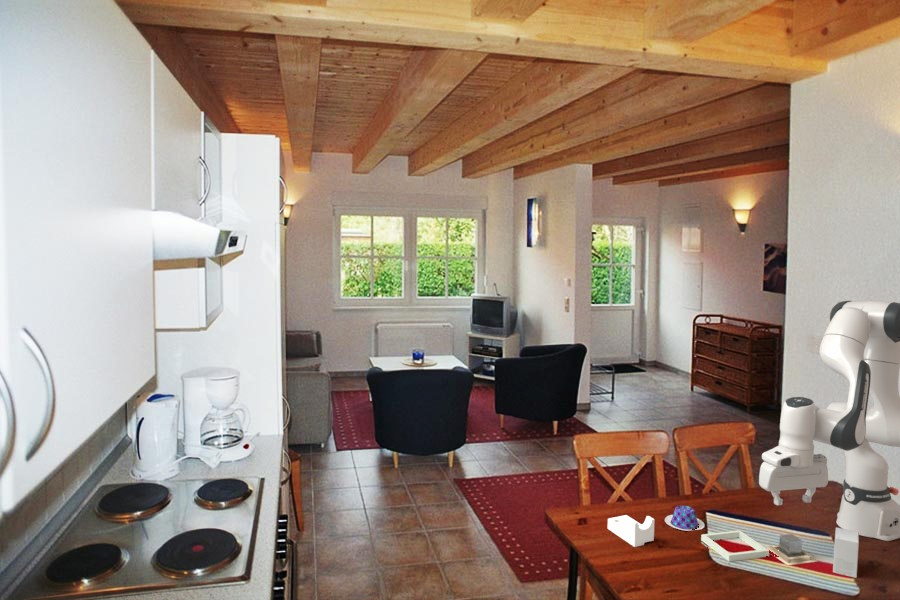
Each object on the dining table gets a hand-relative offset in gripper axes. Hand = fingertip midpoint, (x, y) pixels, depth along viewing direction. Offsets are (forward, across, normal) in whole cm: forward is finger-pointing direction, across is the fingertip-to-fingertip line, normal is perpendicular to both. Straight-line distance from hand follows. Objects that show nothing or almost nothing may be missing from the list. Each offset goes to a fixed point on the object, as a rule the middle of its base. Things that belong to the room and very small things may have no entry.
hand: (792, 503), depth 185 cm
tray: (+16, +12, -7) cm, 22 cm away
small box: (+16, -10, +10) cm, 21 cm away
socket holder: (+16, 0, 0) cm, 16 cm away
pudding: (+17, +16, -26) cm, 35 cm away
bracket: (+17, +37, -23) cm, 47 cm away
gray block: (+15, 0, 0) cm, 15 cm away
